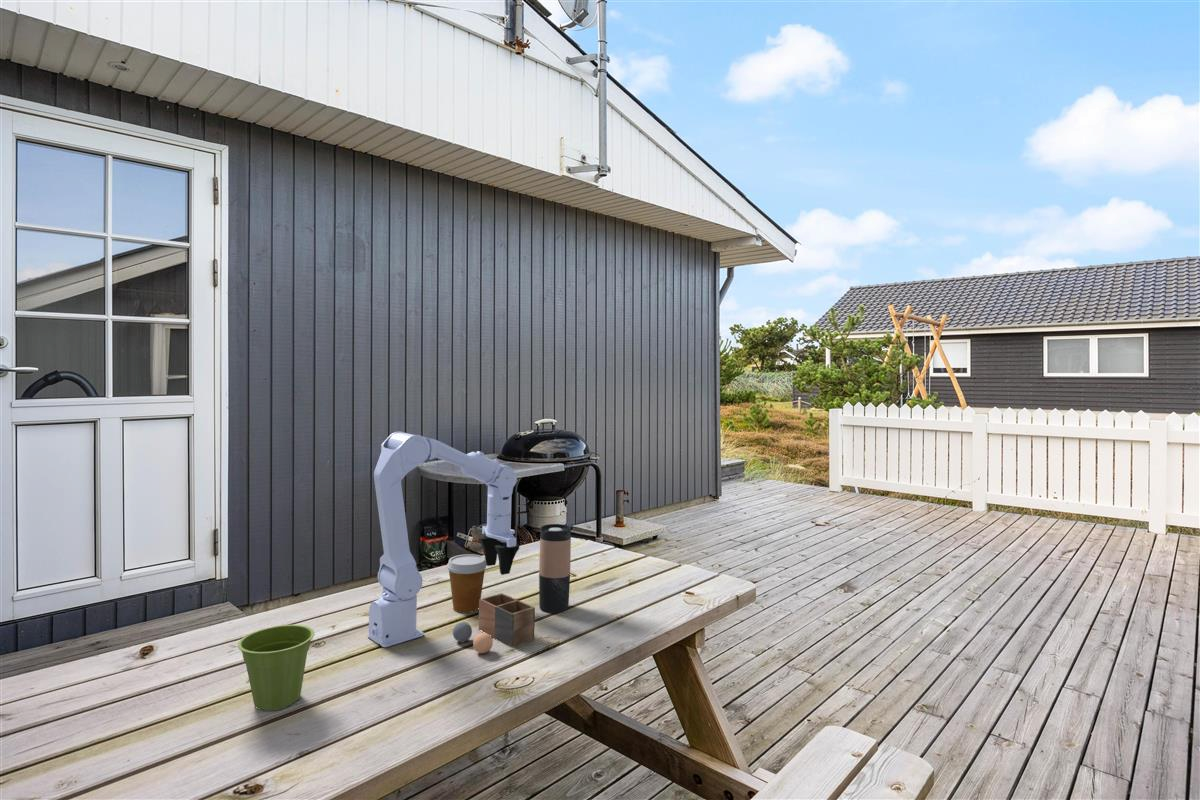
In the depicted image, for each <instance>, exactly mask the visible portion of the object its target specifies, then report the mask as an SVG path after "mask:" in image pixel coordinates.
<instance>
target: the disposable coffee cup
mask: <svg viewBox="0 0 1200 800" xmlns="http://www.w3.org/2000/svg"><path fill="white" fill-rule="evenodd" d="M487 567H488V566H487V563H486V560H485V556H482V555H480V554H468V553H467V554H459V555H458V554H457V555H455V556H452V557H450V558H449V559H448V563H447V564H446V568H447V570H448V574H449V585H450V591H451V600H452V607H453V608H452V609H453V611H454V612H458V613H462V612H467V613H472V612H471V611H473V612H476V611H477V609H478V608H479V599H482V593H483V585H484V577H485V571H486V568H487ZM475 610H476V611H475ZM478 610H479V609H478Z"/></svg>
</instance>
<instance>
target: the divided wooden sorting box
mask: <svg viewBox="0 0 1200 800" xmlns="http://www.w3.org/2000/svg"><path fill="white" fill-rule="evenodd" d="M535 612H536V607H535V606H533V605H530V604H527V603H525V602H524V601H521V600H518V599H516V598H515V597H512V596H509V595H507V594H505V593H497V594H493V595H489V596H487V597H483V598H481V599H479V609H478V631H479V630H482V631H483V632H485V633H487V634H489V635H491V636H492V638H493V637H494V638H495V640H496V639H497V641H498V642H500V641H501V642H500V643H502V644H504V645H507V646H509V647H510V648H513V646H514V647H516V646H519V645H521V643H522V644H525V643H527V642H530V641H533V640H534V639H535V623H536V621H535V617H536V613H535ZM483 632H482V633H483ZM494 638H493V639H494ZM524 642H525V643H524Z"/></svg>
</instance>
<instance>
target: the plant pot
mask: <svg viewBox="0 0 1200 800" xmlns="http://www.w3.org/2000/svg"><path fill="white" fill-rule="evenodd" d="M314 636H315V631H314V630H313V628H311V627H309V626H306V625H303V624H302V625H301V624H282V625H273V626H270V627H266V628H261V629H258V630H255V631H253V632H250V633H249V634H247V635H245V636H243V637H242V638H241V639H240V640H239V641H238V642H237V648H238V650H240V651H241V653H242V657H243V658H242V659H243V662H245V666H246V671H247V675H248V681H249V686H250V690H251V691H250V692H251V695H252V696H251V697H252V700H253V705H255V706H254V707H255V708H256V707H257V708H259V709H261V710H263V711H265V710H274V711H277V709H278V710H282V709H281V708H283V709H285V708H284V707H286V706H288V705H290V704H291V703H292V704H294V702H295V703H296V702H297V701H296V700H298V699H300V698H301V695H302V694H301V693H302V688H303V682H304V674H305V668H306V663H307V656H308V652H309V651H310V645H311V641H312V639H313V638H314ZM299 697H300V698H299ZM298 701H299V700H298ZM292 704H291V705H292ZM291 705H290V706H291ZM288 707H289V706H288ZM257 708H256V709H257ZM286 708H287V707H286Z"/></svg>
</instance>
